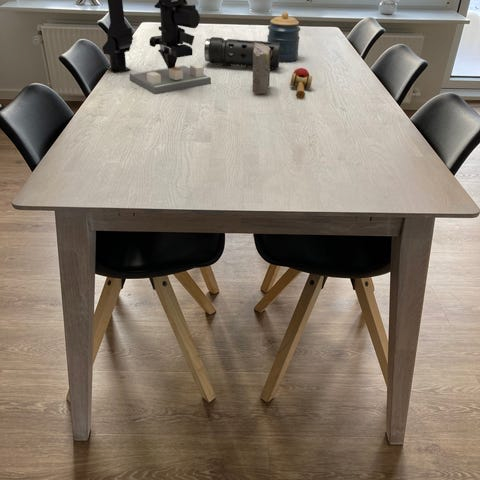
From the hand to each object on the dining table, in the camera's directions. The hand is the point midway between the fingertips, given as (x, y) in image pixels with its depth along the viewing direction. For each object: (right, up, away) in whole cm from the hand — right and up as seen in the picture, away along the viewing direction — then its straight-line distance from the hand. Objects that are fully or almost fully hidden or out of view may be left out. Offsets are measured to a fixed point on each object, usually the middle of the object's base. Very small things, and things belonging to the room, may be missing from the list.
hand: (171, 71), depth 179 cm
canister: (+41, +16, +34) cm, 55 cm away
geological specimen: (+30, -7, -2) cm, 31 cm away
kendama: (+44, -7, 0) cm, 45 cm away
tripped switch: (+2, -3, -1) cm, 3 cm away
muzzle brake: (+24, +8, +21) cm, 33 cm away
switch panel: (-1, -3, +3) cm, 4 cm away
